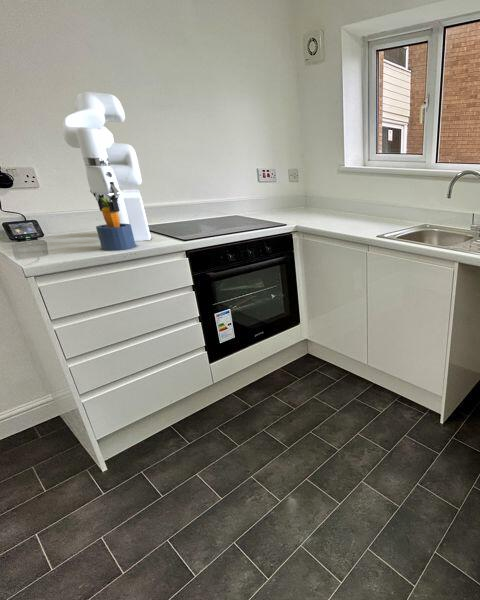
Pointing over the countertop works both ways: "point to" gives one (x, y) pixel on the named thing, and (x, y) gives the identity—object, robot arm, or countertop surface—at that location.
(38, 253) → the countertop surface
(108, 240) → the blue faceted cup
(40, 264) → the countertop surface
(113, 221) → the carrot
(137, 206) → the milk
